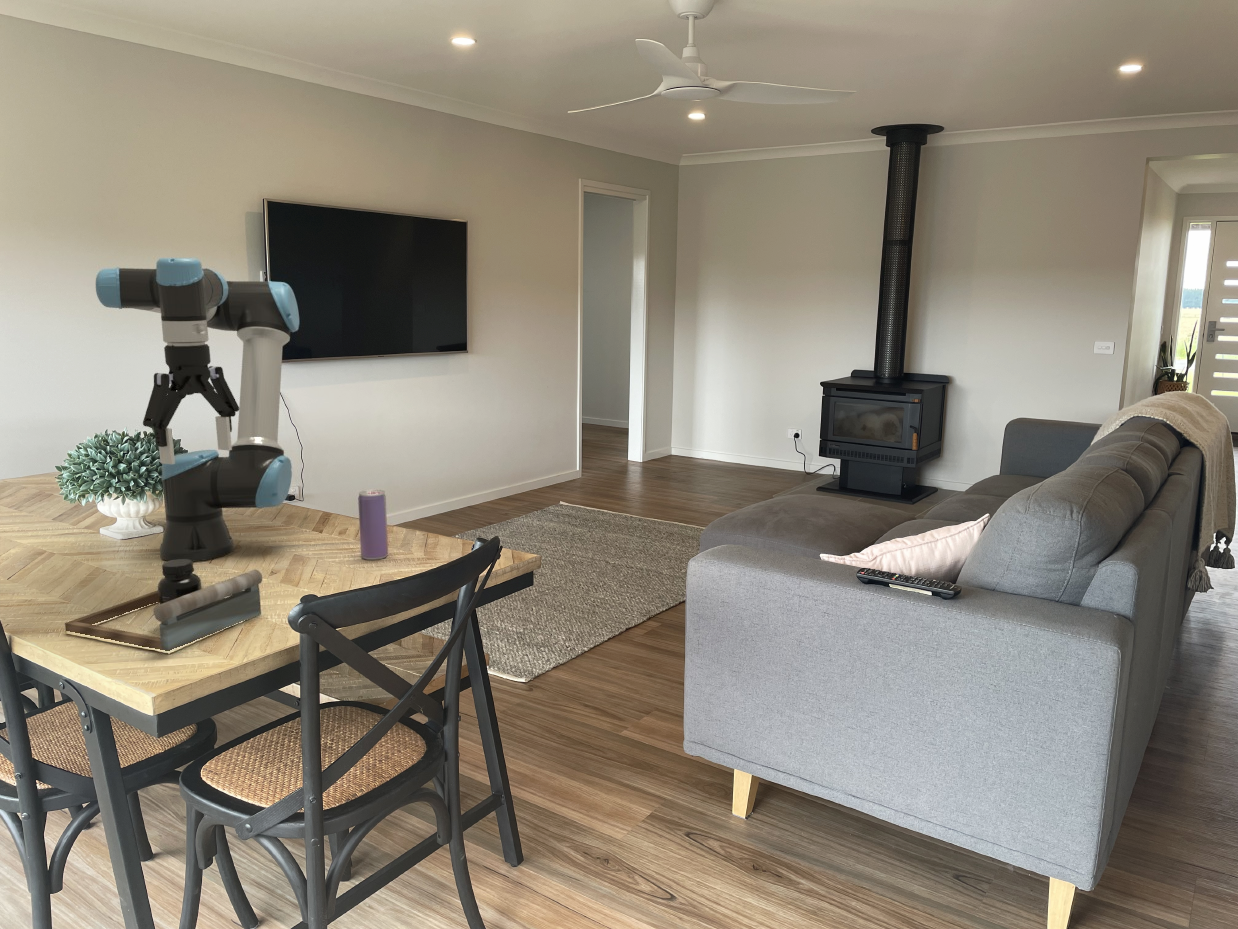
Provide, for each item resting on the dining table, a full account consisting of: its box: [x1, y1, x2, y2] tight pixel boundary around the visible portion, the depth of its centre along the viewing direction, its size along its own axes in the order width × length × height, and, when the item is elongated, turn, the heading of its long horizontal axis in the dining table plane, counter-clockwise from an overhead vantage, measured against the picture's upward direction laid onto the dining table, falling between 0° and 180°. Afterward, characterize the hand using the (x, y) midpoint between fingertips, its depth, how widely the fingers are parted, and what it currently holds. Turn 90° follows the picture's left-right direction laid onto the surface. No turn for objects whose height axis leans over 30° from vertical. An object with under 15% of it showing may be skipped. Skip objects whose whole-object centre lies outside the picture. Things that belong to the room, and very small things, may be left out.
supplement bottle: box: [157, 559, 204, 617], centre depth 154 cm, size 7×7×12 cm
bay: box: [64, 569, 263, 651], centre depth 156 cm, size 24×21×8 cm
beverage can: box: [357, 489, 389, 561], centre depth 198 cm, size 6×6×15 cm
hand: (197, 456), depth 167 cm, fingers open, 13 cm apart
